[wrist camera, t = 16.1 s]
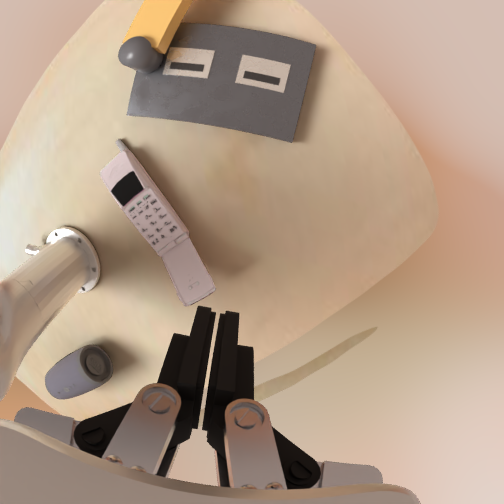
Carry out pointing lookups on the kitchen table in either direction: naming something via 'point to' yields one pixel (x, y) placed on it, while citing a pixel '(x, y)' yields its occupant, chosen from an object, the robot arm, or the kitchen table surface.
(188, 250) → the mobile phone
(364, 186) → the kitchen table surface
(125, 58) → the bar
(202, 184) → the kitchen table surface
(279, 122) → the plate
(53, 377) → the bluetooth speaker
